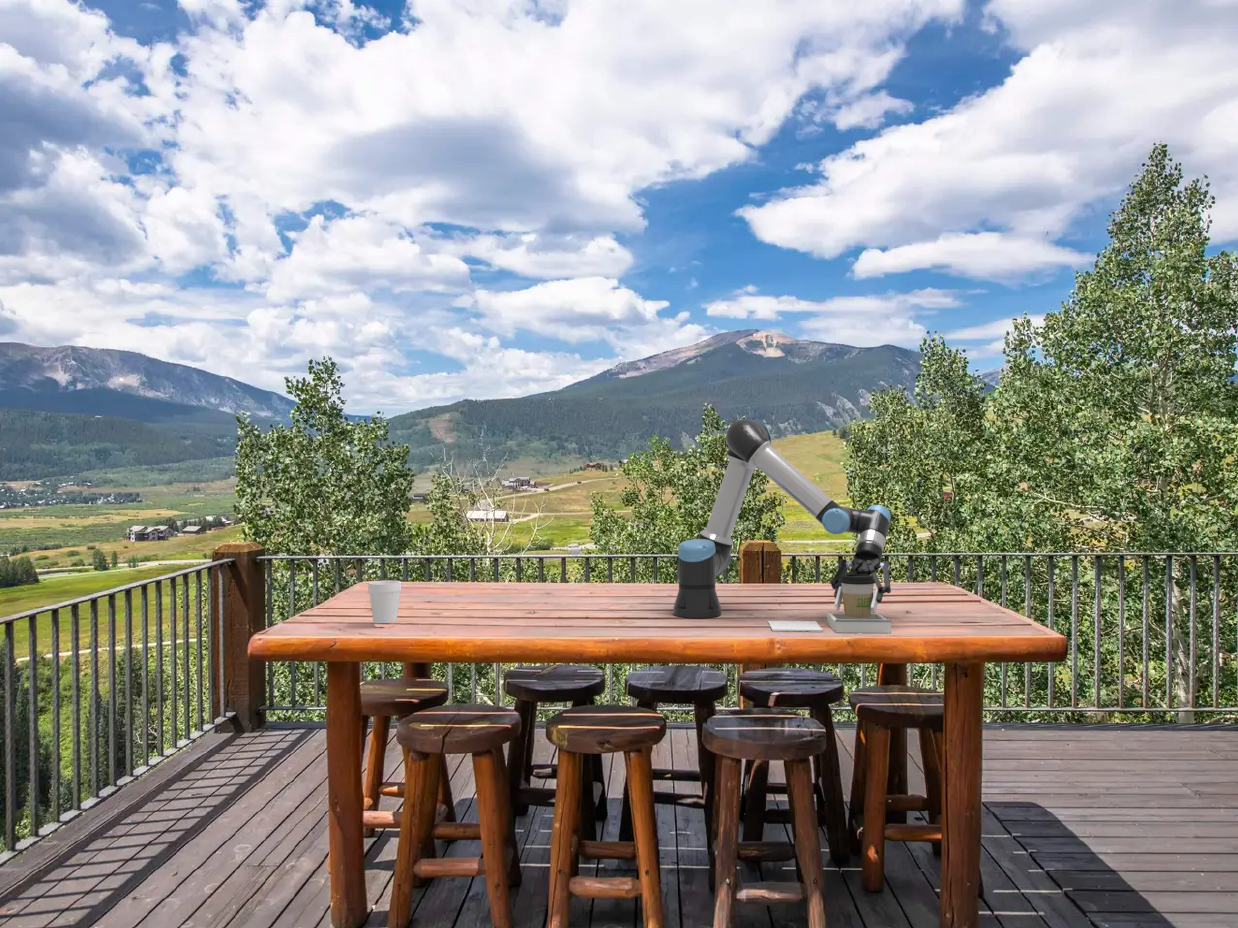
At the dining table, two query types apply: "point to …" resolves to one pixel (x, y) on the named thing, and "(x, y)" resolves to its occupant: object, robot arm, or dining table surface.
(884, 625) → the cup holder
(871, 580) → the coffee cup
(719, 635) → the dining table surface
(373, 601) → the foam cup
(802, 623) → the rubber mat
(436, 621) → the dining table surface
